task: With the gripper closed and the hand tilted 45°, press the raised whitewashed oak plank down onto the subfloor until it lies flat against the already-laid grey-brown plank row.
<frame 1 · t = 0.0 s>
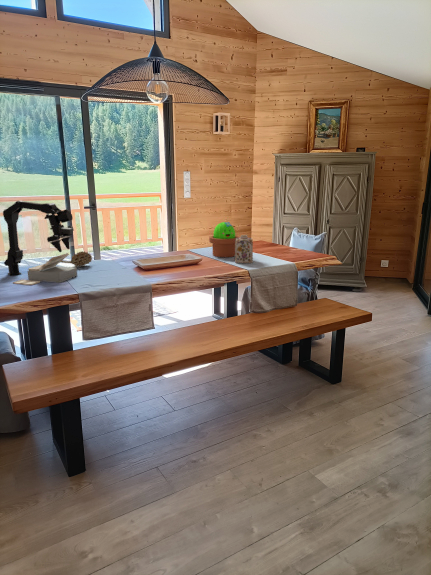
hand: (64, 250, 244), 15 cm above the table, tool pointing down, fingers open, 9 cm apart
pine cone: (75, 267, 271), on the table
potted cactus: (224, 255, 306), on the table
decorative jar: (243, 261, 285), on the table
subfloor: (47, 277, 245), on the table
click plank: (53, 261, 241), point 10 cm above the table, hinge at 35.0°
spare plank: (27, 283, 234), on the table
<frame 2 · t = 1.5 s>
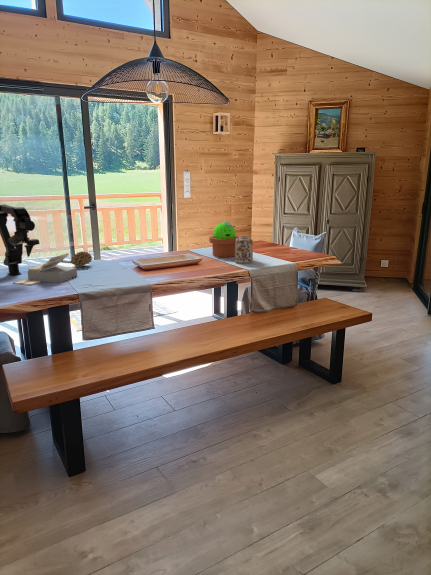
hand: (24, 256, 240), 13 cm above the table, tool pointing down, fingers open, 5 cm apart
nothing on the table moved.
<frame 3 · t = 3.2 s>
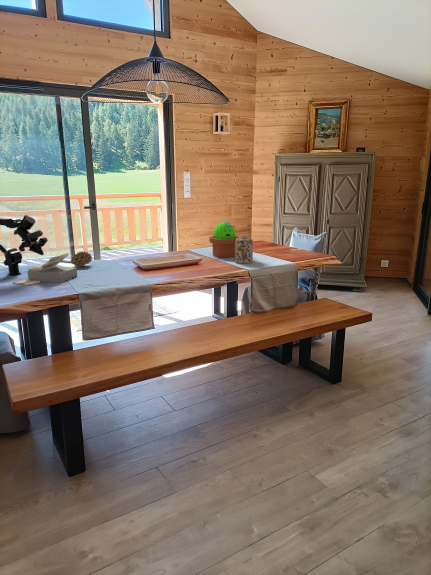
hand: (43, 254, 242), 13 cm above the table, tool tilted 45°, fingers closed
nothing on the table moved.
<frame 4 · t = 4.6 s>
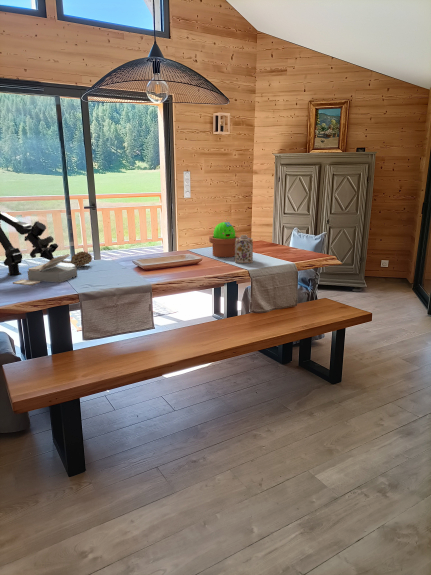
hand: (54, 261, 241), 10 cm above the table, tool tilted 45°, fingers closed, pressing on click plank
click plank: (54, 262, 241), point 9 cm above the table, hinge at 32.1°, touching gripper
everything else where it was.
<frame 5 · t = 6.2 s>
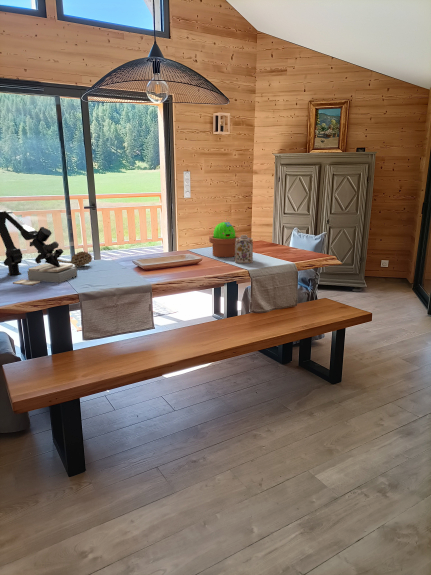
hand: (59, 266, 240), 7 cm above the table, tool tilted 45°, fingers closed, pressing on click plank
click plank: (56, 267, 241), point 6 cm above the table, hinge at 3.0°, touching gripper
everything else where it was.
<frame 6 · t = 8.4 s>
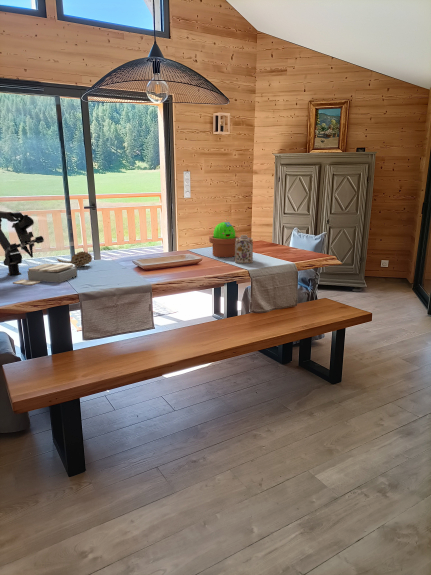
hand: (32, 257, 239), 13 cm above the table, tool tilted 25°, fingers closed
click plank: (56, 268, 241), point 6 cm above the table, hinge at 2.9°
everything else where it was.
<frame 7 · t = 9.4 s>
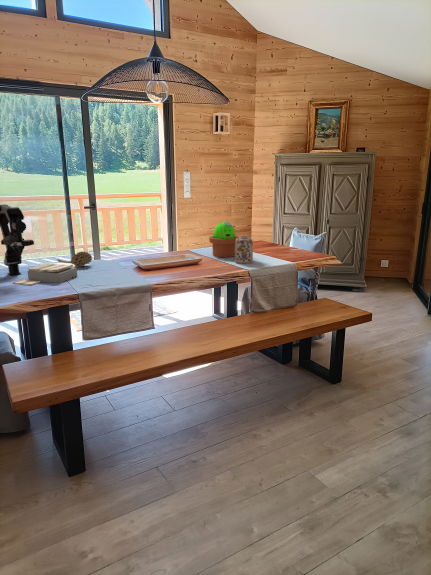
hand: (19, 257, 238), 13 cm above the table, tool pointing down, fingers closed
nothing on the table moved.
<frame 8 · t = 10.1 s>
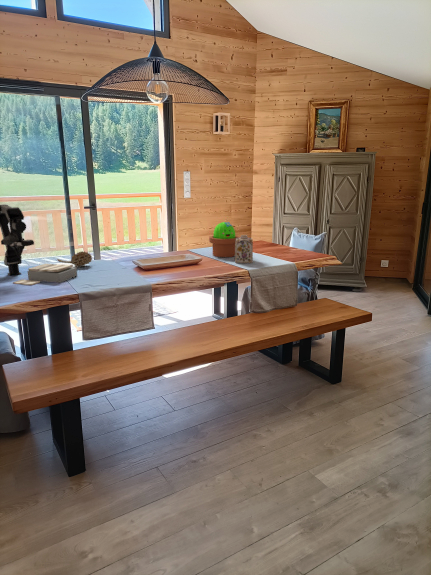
hand: (19, 257, 238), 13 cm above the table, tool pointing down, fingers closed
nothing on the table moved.
at the end: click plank at +3° (first picture: +35°) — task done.
